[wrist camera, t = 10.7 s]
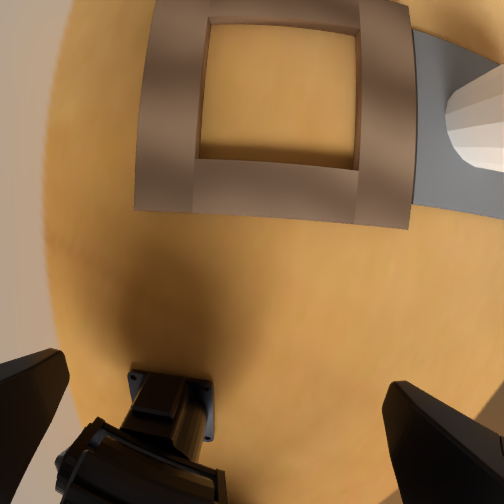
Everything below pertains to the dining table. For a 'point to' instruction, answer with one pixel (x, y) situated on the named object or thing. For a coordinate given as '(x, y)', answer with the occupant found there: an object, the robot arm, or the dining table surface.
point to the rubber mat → (437, 139)
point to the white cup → (479, 120)
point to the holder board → (271, 173)
